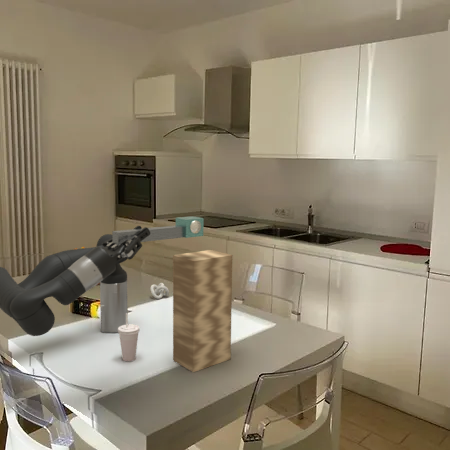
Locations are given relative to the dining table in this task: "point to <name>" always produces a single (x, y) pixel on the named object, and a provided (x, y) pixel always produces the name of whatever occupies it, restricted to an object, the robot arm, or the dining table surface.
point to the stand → (202, 308)
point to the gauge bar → (165, 231)
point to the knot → (159, 291)
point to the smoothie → (128, 340)
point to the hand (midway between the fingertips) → (144, 229)
